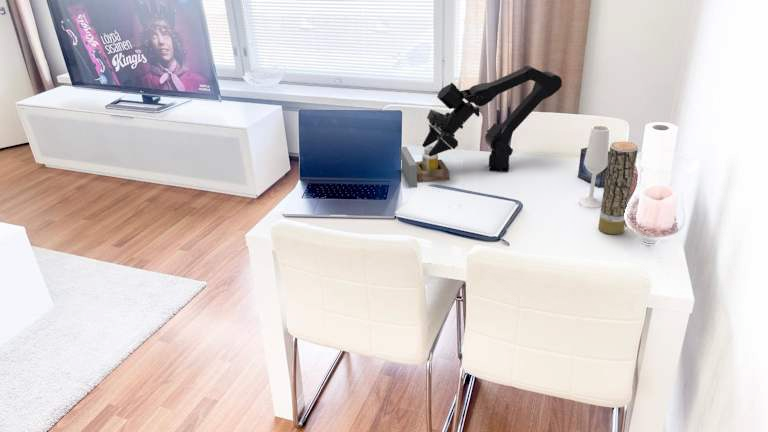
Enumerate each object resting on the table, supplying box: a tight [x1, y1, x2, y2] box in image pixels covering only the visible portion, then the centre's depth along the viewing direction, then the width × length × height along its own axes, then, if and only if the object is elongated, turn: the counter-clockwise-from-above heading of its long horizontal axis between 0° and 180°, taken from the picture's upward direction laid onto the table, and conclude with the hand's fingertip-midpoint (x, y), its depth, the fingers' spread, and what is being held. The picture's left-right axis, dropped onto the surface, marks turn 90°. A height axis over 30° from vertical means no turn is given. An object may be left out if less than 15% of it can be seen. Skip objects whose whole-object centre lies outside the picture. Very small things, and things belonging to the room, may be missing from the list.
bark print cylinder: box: [598, 140, 639, 235], centre depth 159 cm, size 7×7×25 cm
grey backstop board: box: [401, 146, 418, 188], centre depth 201 cm, size 2×18×8 cm, turn 9°
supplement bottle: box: [422, 145, 439, 171], centre depth 202 cm, size 5×5×10 cm
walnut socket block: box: [415, 159, 450, 184], centre depth 203 cm, size 11×11×4 cm
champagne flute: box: [578, 125, 610, 208], centre depth 175 cm, size 7×7×24 cm
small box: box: [577, 147, 610, 189], centre depth 193 cm, size 11×6×10 cm, turn 25°
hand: (426, 151), depth 200 cm, fingers open, 9 cm apart
